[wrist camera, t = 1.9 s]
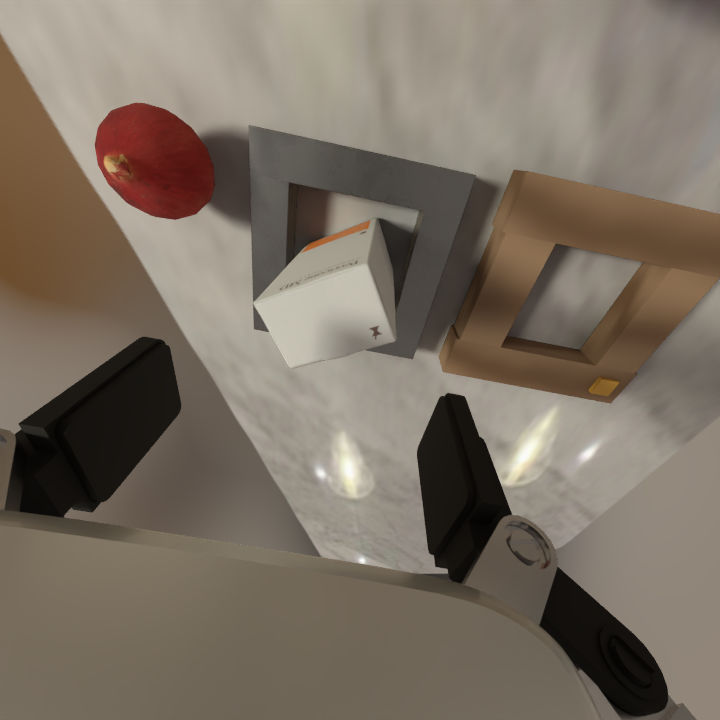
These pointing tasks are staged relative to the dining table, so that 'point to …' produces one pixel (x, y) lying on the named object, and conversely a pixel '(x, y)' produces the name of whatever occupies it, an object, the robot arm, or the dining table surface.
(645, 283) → the frame
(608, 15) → the dining table surface
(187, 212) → the onion
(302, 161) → the gray square frame
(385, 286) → the skincare box
